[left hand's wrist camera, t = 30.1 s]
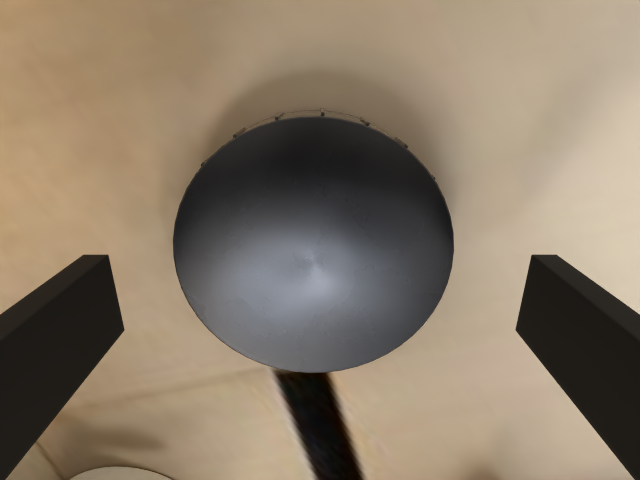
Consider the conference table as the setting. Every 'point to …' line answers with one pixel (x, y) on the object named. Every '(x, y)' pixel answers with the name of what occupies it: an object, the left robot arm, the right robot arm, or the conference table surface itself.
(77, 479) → the jar
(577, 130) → the conference table surface
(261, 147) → the lid
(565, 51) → the conference table surface
